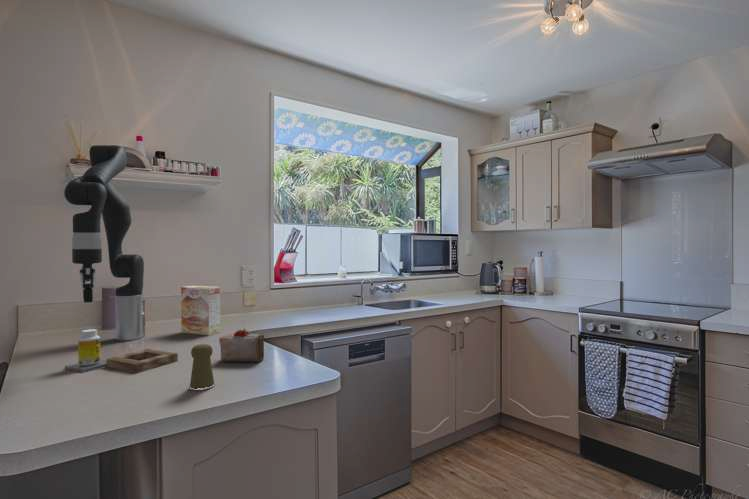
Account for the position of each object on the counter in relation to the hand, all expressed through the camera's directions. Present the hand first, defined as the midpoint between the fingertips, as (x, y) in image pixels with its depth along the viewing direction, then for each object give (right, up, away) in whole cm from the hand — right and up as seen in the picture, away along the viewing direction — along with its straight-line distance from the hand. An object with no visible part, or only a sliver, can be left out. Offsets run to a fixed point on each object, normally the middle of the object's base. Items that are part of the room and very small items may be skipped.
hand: (87, 300), depth 131 cm
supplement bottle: (+1, -20, 0) cm, 20 cm away
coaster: (+1, -20, 0) cm, 20 cm away
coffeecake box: (+14, -20, +50) cm, 55 cm away
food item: (+45, -20, +7) cm, 50 cm away
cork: (+43, -21, -19) cm, 51 cm away
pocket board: (+15, -20, +3) cm, 25 cm away
